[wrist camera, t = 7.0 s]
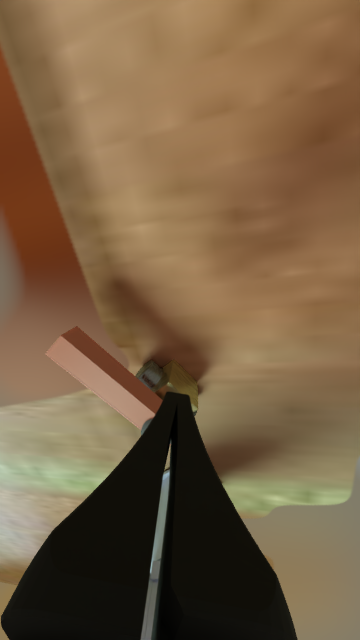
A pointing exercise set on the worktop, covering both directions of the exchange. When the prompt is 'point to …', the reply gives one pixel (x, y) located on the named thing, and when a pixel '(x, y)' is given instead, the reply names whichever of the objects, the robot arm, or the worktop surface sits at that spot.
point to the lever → (105, 377)
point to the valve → (169, 381)
